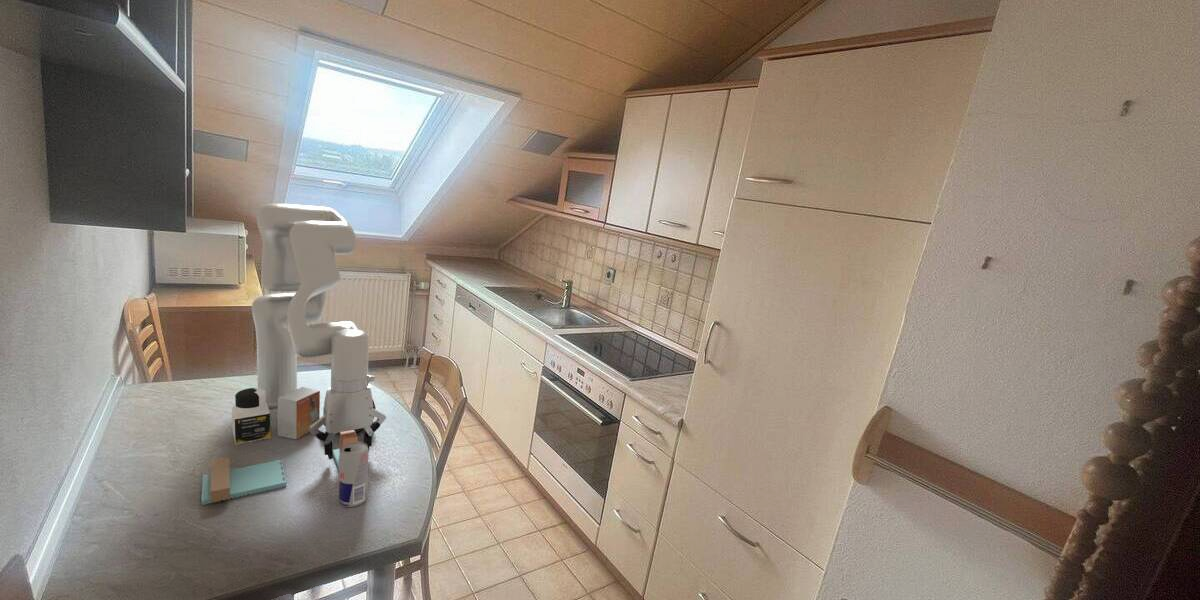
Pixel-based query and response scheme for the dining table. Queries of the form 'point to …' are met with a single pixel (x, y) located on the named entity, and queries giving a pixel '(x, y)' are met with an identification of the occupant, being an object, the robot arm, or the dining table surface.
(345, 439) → the stub
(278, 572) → the dining table surface
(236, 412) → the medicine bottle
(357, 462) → the energy drink
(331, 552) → the dining table surface
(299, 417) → the small box
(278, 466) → the teal plate with bar
